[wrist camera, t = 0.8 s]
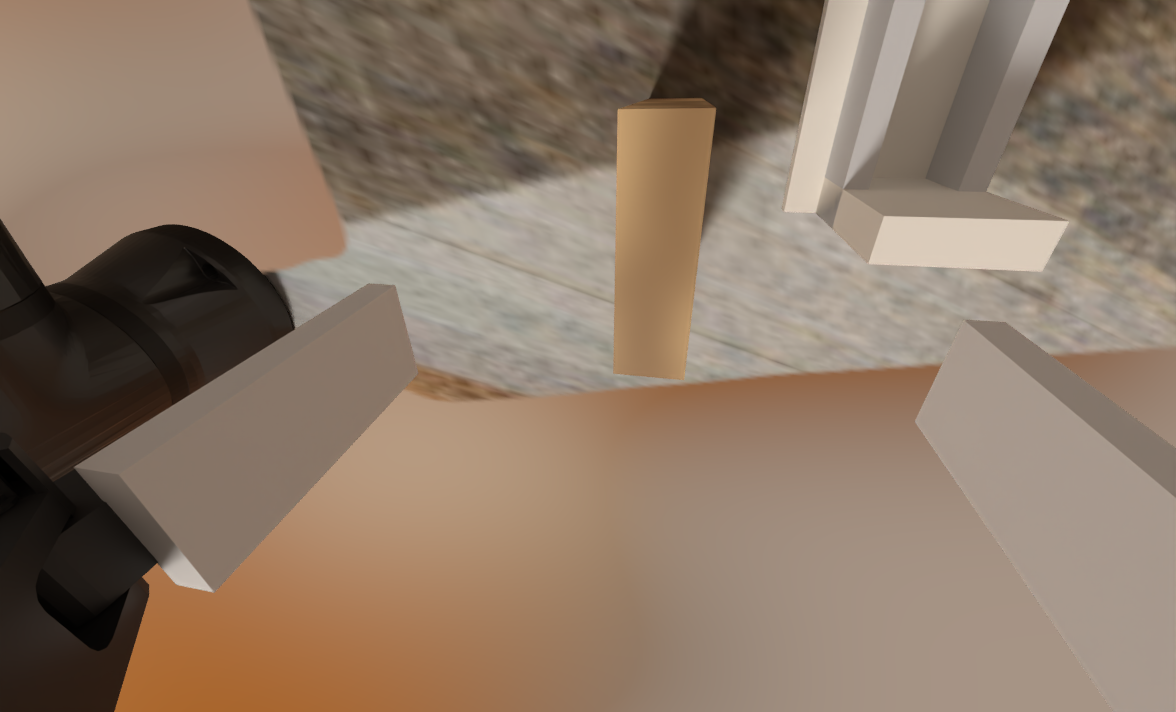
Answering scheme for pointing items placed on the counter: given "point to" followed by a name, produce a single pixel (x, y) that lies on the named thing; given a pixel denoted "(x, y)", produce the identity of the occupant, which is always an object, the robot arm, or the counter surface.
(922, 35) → the door track
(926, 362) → the counter surface
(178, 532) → the robot arm
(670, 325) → the door panel
